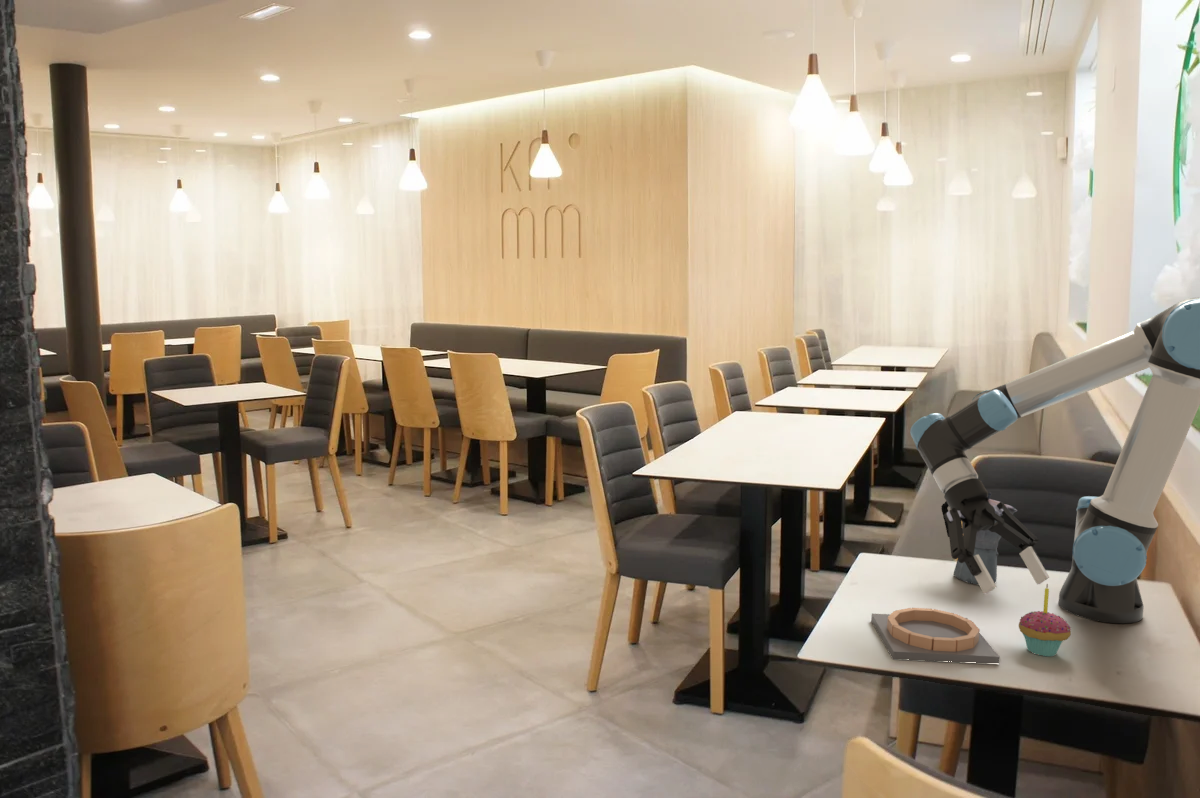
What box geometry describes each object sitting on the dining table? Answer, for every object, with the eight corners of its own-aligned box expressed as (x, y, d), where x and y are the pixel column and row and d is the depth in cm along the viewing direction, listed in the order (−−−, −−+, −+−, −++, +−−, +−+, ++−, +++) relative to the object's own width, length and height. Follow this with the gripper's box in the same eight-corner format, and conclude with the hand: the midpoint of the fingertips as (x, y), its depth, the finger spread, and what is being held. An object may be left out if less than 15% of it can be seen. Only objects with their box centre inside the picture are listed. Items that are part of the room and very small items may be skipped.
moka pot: (1015, 589, 202) (1023, 498, 199) (939, 583, 205) (946, 493, 202) (1005, 575, 211) (1013, 488, 209) (933, 569, 214) (940, 483, 212)
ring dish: (966, 625, 181) (967, 608, 181) (998, 664, 164) (1000, 645, 163) (871, 620, 183) (872, 603, 182) (893, 659, 165) (894, 640, 164)
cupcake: (1014, 639, 175) (1020, 577, 173) (1064, 645, 173) (1071, 582, 171) (1019, 657, 167) (1025, 592, 165) (1072, 664, 165) (1079, 598, 163)
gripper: (995, 491, 192) (1051, 586, 181) (901, 502, 181) (954, 603, 170) (1019, 471, 187) (1078, 568, 176) (923, 481, 176) (980, 584, 165)
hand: (1017, 585), depth 173 cm, fingers open, 13 cm apart
